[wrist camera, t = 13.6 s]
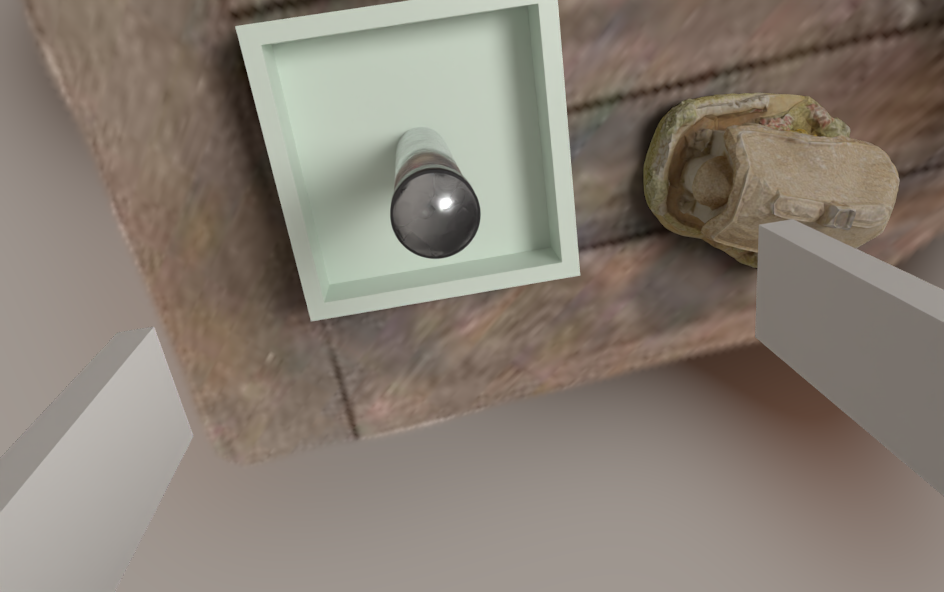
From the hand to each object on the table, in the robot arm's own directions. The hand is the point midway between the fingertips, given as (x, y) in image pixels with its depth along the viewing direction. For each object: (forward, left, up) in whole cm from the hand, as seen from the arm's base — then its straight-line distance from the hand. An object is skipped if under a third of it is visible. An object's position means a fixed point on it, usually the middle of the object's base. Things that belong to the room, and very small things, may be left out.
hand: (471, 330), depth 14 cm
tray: (0, 0, -27) cm, 27 cm away
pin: (0, 0, -26) cm, 26 cm away
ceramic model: (+5, +20, -27) cm, 34 cm away
